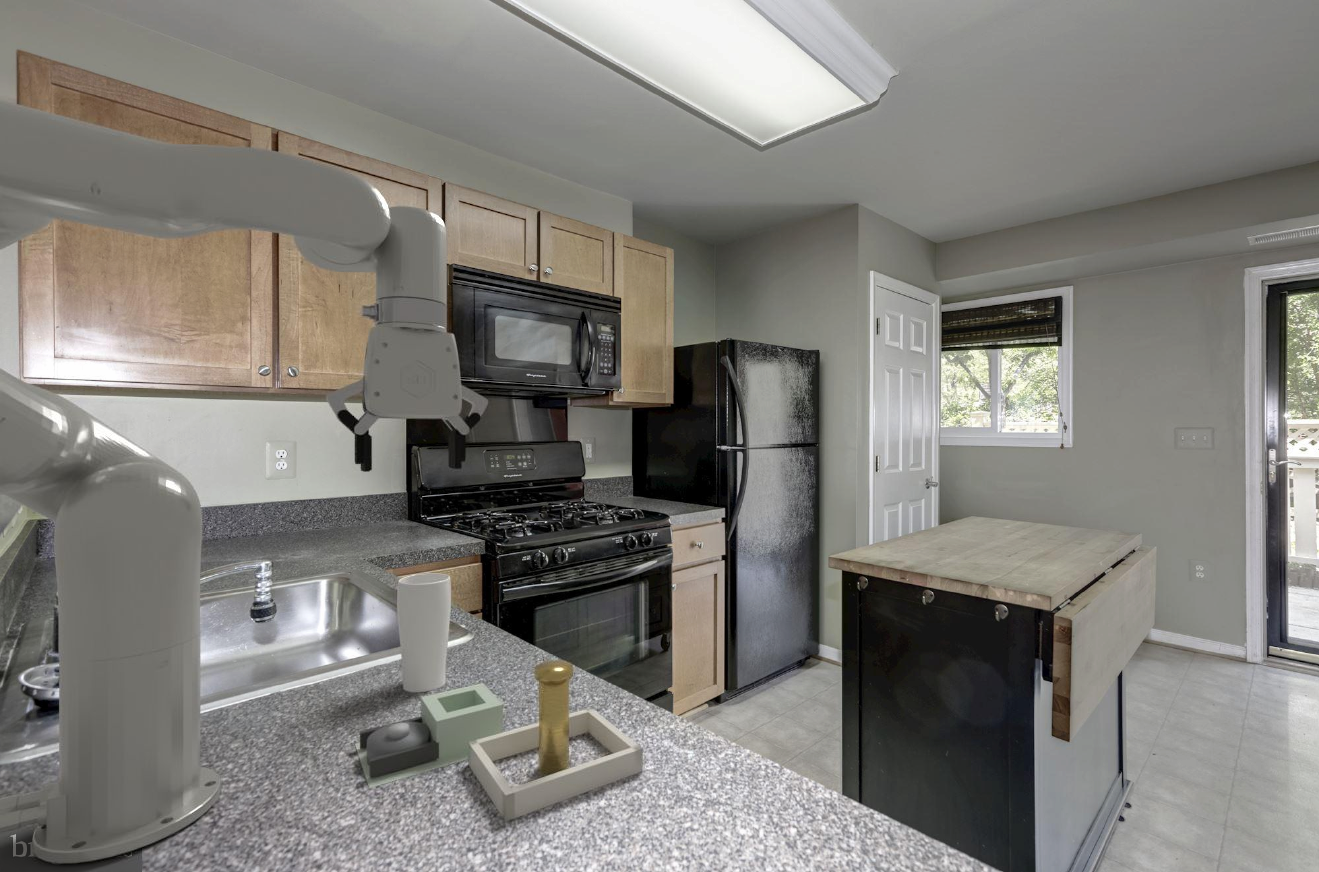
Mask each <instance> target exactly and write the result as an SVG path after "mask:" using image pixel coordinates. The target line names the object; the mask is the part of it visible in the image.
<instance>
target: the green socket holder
mask: <svg viewBox="0 0 1319 872" xmlns="http://www.w3.org/2000/svg"><path fill="white" fill-rule="evenodd" d="M503 732H504V704H503V703H502V701H500V700H499V698H498V697H497V696H496V695H495V694H494V693H493V692H492V691H491V690H490V689H489V688H488V687H487V685H486V684H484V682H481V683H477V684H472V685H468V686H464V687H459V688H456V689H451V690H447V691H441V692H437V693H434V694H428V695H425V696H421V697H420V716H418V717H417V716H416V717H413V718H408V719H406V720H405V719H404V720H401V721H397V722H394V723H390V724H389V723H388V724H385V725H380V726H377V727H373V728H369V729H365V730H361V731H359V742H357V743H354V745H355V749H356V751H357V756H358V757H359V762H360V765H361V768H362V770H363V774H364V777H365V779H366V783H367V785H368V789H372V788H376V787H378V786H379V787H380V786H383V785H386V784H390V783H393V782H397V781H400V780H403V779H406V778H410V777H413V776H417V775H420V774H423V773H427V772H430V771H434V770H437V769H441V768H443V767H447V766H450V765H454V764H456V763H460V762H464V761H468V742H471V741H474V740H478V739H482V738H485V737H489V736H492V735H496V734H499V733H503Z"/></svg>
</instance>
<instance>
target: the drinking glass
mask: <svg viewBox="0 0 1319 872" xmlns="http://www.w3.org/2000/svg"><path fill="white" fill-rule="evenodd" d="M451 582H452V581H451V576H450V575H448V574H445V573H440V572H439V573H436V572H434V573H432V572H430V573H418V574H411V575H407V576H404V577H401V578H399V579H398V581H397V589H396V590H397V592H396V593H397V594H396V595H397V596H396V601H397V602H396V607H397V608H396V611H397V623H398V624H397V626H398V634H399V643H400V645H399V646H400V655H401V657H400V658H401V665H402V666H401V668H402V689H403V690H404V691H406V692H408V693H425V692H430V691H434V690H437V689H440V688H441V687H443V686H444V685H445V684H446V680H447V679H446V675H447V671H446V670H447V657H448V656H447V655H448V647H449V646H448V644H449V635H450V634H449V633H450V624H451V623H450V621H451V612H452V611H451V609H452V586H451V584H452V583H451Z"/></svg>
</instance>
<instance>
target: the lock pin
mask: <svg viewBox="0 0 1319 872" xmlns="http://www.w3.org/2000/svg"><path fill="white" fill-rule="evenodd" d="M573 676H574V665H573V663H571V662H569V661H566V660H548V661H543V662H541V663H538V664H537V665H535V667H534V679H535V680H536V681H538V722H539V747H538V772H539V774H541V775H543V776H548V775H551V774H554V773H557V772H560V771H563V770H566V769H569V768H570V738H569V714H570V679H571V678H573Z"/></svg>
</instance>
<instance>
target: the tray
mask: <svg viewBox="0 0 1319 872" xmlns="http://www.w3.org/2000/svg"><path fill="white" fill-rule="evenodd" d="M586 733H589V735H591V736H592V737H594V739H596V740H597V741H598V742H599V743H600V744H601V745H603V746H604V747H605V748H606V749H607V750H608V751H609V752H610V753H611V754H608V755H605V756H602V757H600V758H596V759H593V760H590V761H587V762H584V763H581V764H579V765H576V766H573V767H569V769H566V770H563V771H560V772H557V773H554V774H551V775H548V776H546V775H544V776H543V777H540V778H538V779H534V780H530V781H528V782H525V783H521V784H518V785H516V786H512V787H511V785H510V784H509V783H508V782H507V780H506V779H505V777H504V776H503V775H502V773H501V772H500V770H499V769H498V768H497V766H496V765H495V764H494V762H495V761H498V760H502V759H504V758H508V757H512V756H514V755H517V754H520V753H524V752H528V751H531V750H534V749H539V721H538V722H536V723H535V722H534V723H531V724H529V725H525V726H521V727H517V728H513V729H511V730H507V731H503V733H499V734H496V735H492V736H489V737H485V738H482V739H478V740H474V741H471V742H468V759H467V761H468V762H467V763H468V766H469V768H470V769H471V771H472V772H473V774H474V775H475V777H476V778H477V780H478V782H479V783H480V784H481V787H483V789H484V790H485V793H486V794H487V795H488V797H489V798H490V800H491V801H492V803H493V804H494V806H495V808H496V809H497V810H498V812H499V813H500V816H501V817H502V818H503V820H504V821H505V822H508V821H511V820H515V819H516V818H519V817H522V816H524V815H527V814H530V813H533V812H535V811H538V810H540V809H544V808H546V807H548V806H552V805H554V804H557V803H560V802H562V801H565V800H569V799H570V798H573V797H576V796H579V795H582V794H584V793H587V792H590V791H593V790H596V789H599V788H601V787H604V786H606V785H609V784H611V783H614V782H617V781H620V780H623V779H625V778H628V777H631V776H633V775H636V774H639V773H642V772H643V771H644V767H643V764H644V763H643V759H644V758H643V755H644V754H643V753H644V752H643V748H642V747H641V746H640V745H639V744H638V743H636V742H635V741H634V740H633V739H632V738H631V737H629V736H628V735H626V734H625V733H624V732H623V731H622V730H620V729H619V728H618V727H617V726H615V725H614V724H613V723H611V722H610V721H609V720H607V719H606V718H605V717H604V716H603V715H601V714H600V713H599V712H597V711H596V709H594V708H593V707H588V708H586V709H581V710H578V711H575V712H572V713H570V712H569V739H570V738H574V737H576V736H580V735H583V734H586Z"/></svg>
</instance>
